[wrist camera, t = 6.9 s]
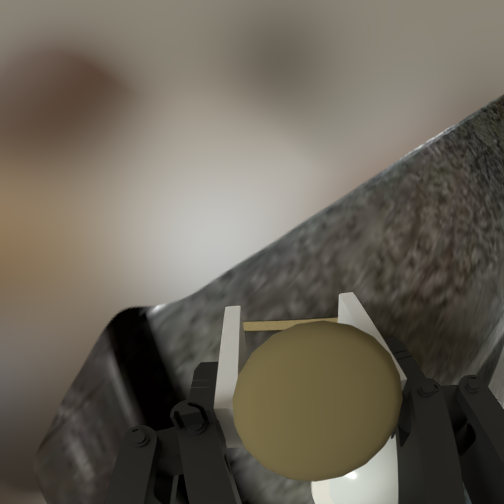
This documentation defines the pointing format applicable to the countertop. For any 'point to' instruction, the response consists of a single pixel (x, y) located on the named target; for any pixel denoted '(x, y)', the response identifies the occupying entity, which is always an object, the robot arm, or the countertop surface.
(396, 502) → the saucer
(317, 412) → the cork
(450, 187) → the countertop surface
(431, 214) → the countertop surface
